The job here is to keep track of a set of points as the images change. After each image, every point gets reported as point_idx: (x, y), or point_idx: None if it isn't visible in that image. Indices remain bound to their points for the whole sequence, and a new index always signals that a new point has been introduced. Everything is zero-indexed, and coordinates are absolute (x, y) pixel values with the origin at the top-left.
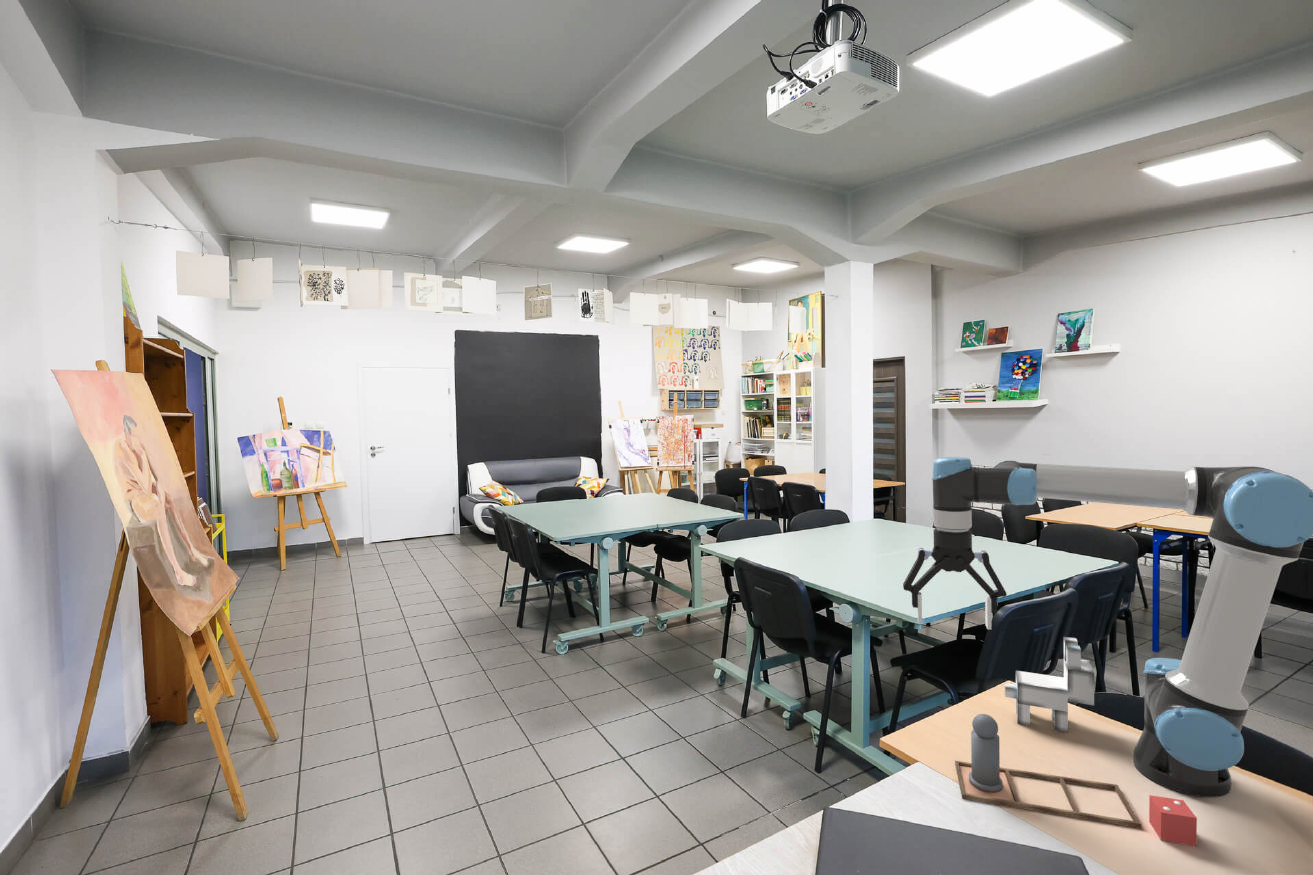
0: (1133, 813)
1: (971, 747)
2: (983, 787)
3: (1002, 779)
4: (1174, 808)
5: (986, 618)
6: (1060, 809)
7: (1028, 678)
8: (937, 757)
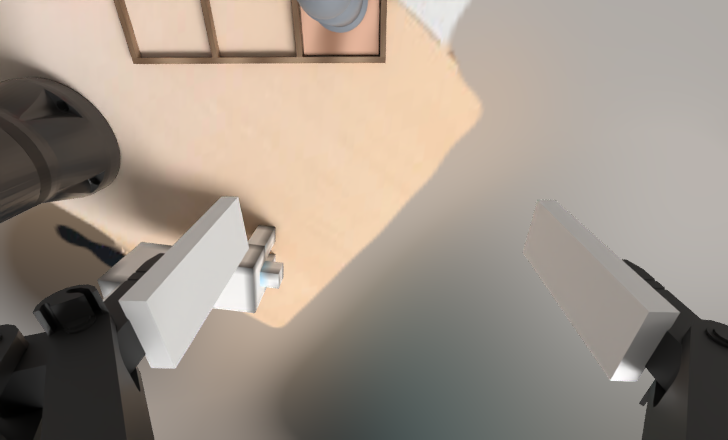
0: None
1: None
2: None
3: (309, 25)
4: None
5: (227, 245)
6: None
7: (234, 288)
8: (413, 78)
